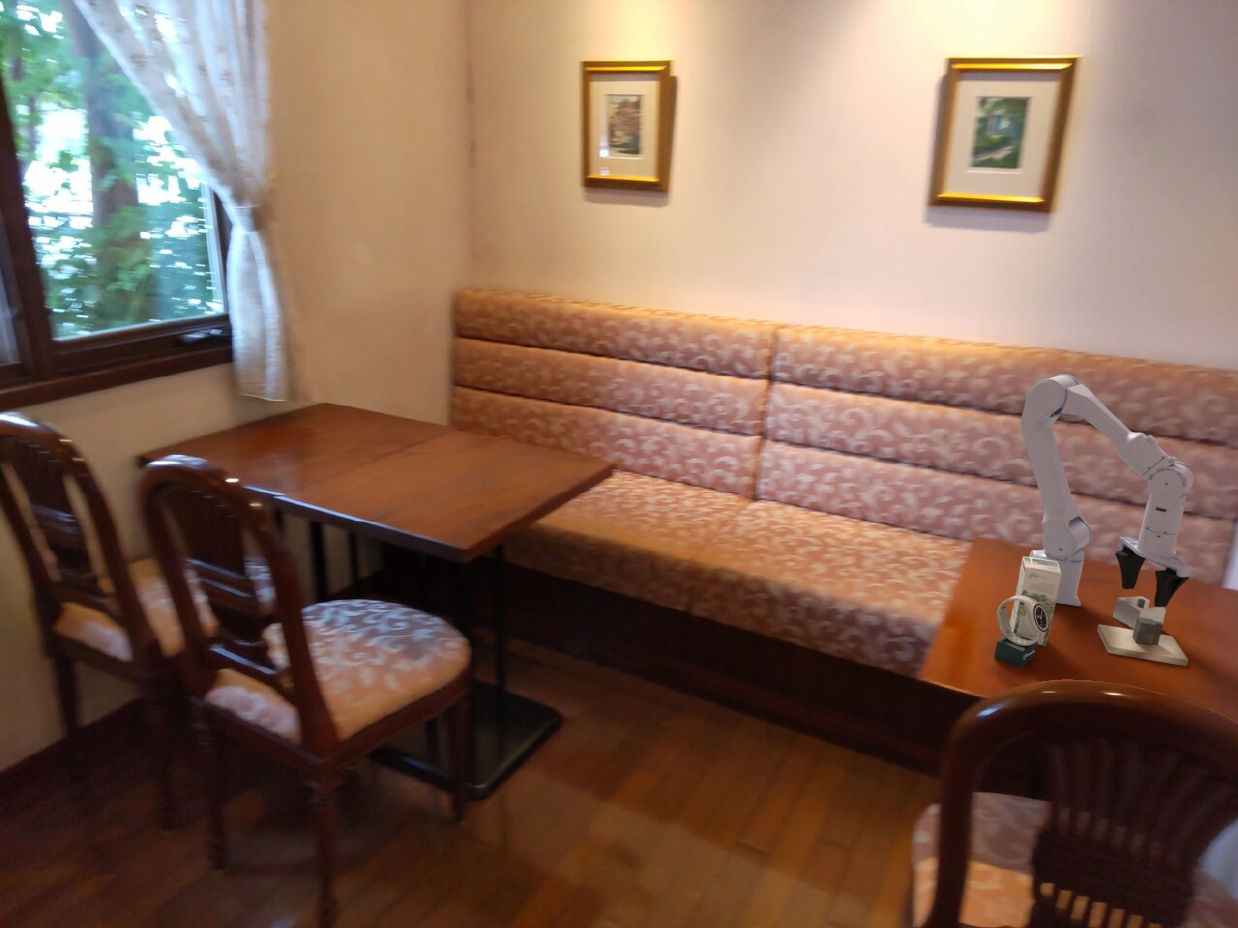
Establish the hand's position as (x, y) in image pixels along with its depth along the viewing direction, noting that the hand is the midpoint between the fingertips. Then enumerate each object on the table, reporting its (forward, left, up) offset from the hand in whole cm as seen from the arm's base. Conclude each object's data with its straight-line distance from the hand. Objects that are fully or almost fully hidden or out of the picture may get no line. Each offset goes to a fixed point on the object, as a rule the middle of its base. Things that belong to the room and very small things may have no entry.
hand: (1143, 597), depth 158 cm
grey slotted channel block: (0, 0, -5) cm, 5 cm away
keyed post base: (-2, -11, -5) cm, 12 cm away
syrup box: (-21, -15, -6) cm, 26 cm away
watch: (-24, -24, -6) cm, 34 cm away
